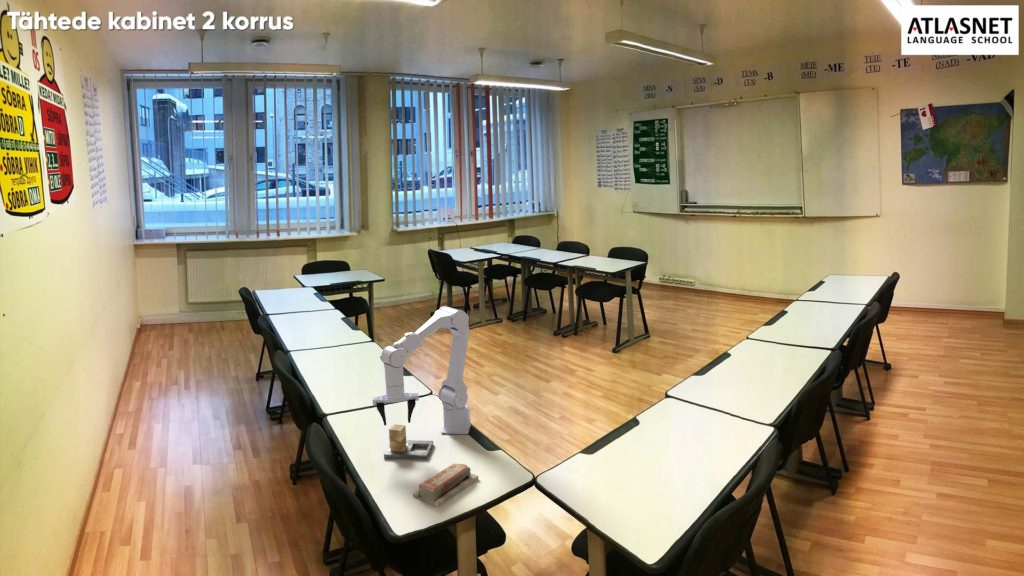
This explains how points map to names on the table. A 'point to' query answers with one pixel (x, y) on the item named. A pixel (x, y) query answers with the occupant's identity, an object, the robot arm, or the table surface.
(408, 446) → the plate
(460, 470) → the packaged product
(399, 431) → the peg
